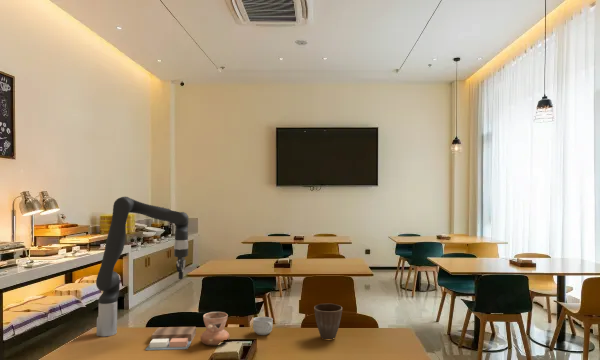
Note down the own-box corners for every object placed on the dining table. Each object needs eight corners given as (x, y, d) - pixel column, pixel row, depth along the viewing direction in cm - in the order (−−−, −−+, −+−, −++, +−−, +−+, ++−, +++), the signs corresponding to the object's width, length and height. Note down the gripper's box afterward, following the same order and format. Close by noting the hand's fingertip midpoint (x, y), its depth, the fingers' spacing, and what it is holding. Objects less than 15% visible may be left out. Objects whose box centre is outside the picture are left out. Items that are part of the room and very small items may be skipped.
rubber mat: (145, 350, 196) (145, 349, 196) (151, 343, 206) (151, 342, 206) (187, 349, 198) (187, 348, 198) (191, 342, 207) (191, 341, 207)
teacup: (250, 331, 223) (250, 317, 224) (268, 329, 228) (268, 314, 228) (258, 339, 211) (258, 324, 211) (278, 336, 215) (278, 321, 216)
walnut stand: (151, 343, 206) (151, 335, 206) (158, 334, 218) (158, 327, 218) (191, 342, 208) (191, 334, 208) (195, 334, 219) (195, 326, 220)
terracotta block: (172, 338, 204) (171, 343, 204) (169, 341, 199) (169, 347, 199) (188, 338, 205) (188, 343, 205) (186, 341, 200) (185, 346, 200)
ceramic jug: (222, 349, 197) (223, 320, 198) (194, 347, 199) (195, 318, 200) (234, 337, 215) (235, 310, 216) (208, 336, 217) (209, 309, 218)
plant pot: (347, 340, 210) (347, 309, 210) (321, 344, 204) (321, 312, 205) (334, 331, 223) (334, 302, 224) (309, 335, 218) (309, 305, 219)
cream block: (152, 338, 204) (152, 344, 203) (149, 342, 199) (149, 347, 198) (169, 338, 204) (169, 343, 204) (166, 342, 199) (166, 347, 199)
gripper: (177, 246, 233) (177, 276, 233) (171, 249, 220) (170, 281, 219) (190, 246, 234) (190, 276, 233) (185, 249, 220) (184, 281, 220)
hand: (180, 278), depth 226 cm, fingers closed
